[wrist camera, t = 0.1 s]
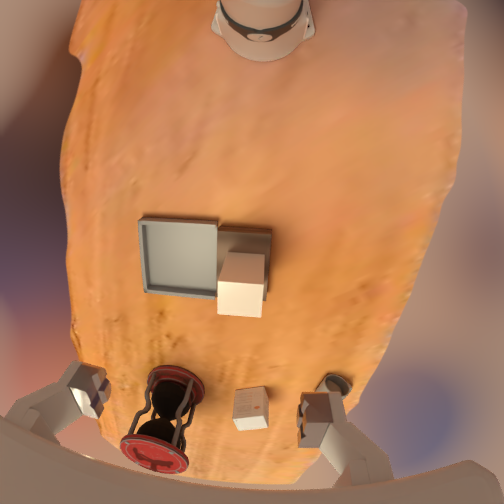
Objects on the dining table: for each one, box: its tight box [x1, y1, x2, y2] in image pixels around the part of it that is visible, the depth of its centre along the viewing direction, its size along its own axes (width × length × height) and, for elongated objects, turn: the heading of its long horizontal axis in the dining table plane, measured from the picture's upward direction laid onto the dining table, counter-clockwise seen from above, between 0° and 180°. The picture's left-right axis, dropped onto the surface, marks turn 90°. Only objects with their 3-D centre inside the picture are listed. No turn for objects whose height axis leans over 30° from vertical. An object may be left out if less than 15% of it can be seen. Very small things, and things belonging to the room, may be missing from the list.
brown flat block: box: [216, 226, 272, 301], centre depth 60 cm, size 14×10×3 cm
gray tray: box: [138, 217, 218, 300], centre depth 60 cm, size 16×16×2 cm
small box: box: [232, 386, 269, 431], centre depth 71 cm, size 8×6×10 cm
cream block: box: [218, 252, 265, 317], centre depth 53 cm, size 6×7×12 cm
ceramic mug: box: [315, 374, 352, 400], centre depth 70 cm, size 11×8×8 cm
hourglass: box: [120, 365, 204, 474], centre depth 65 cm, size 16×16×25 cm
